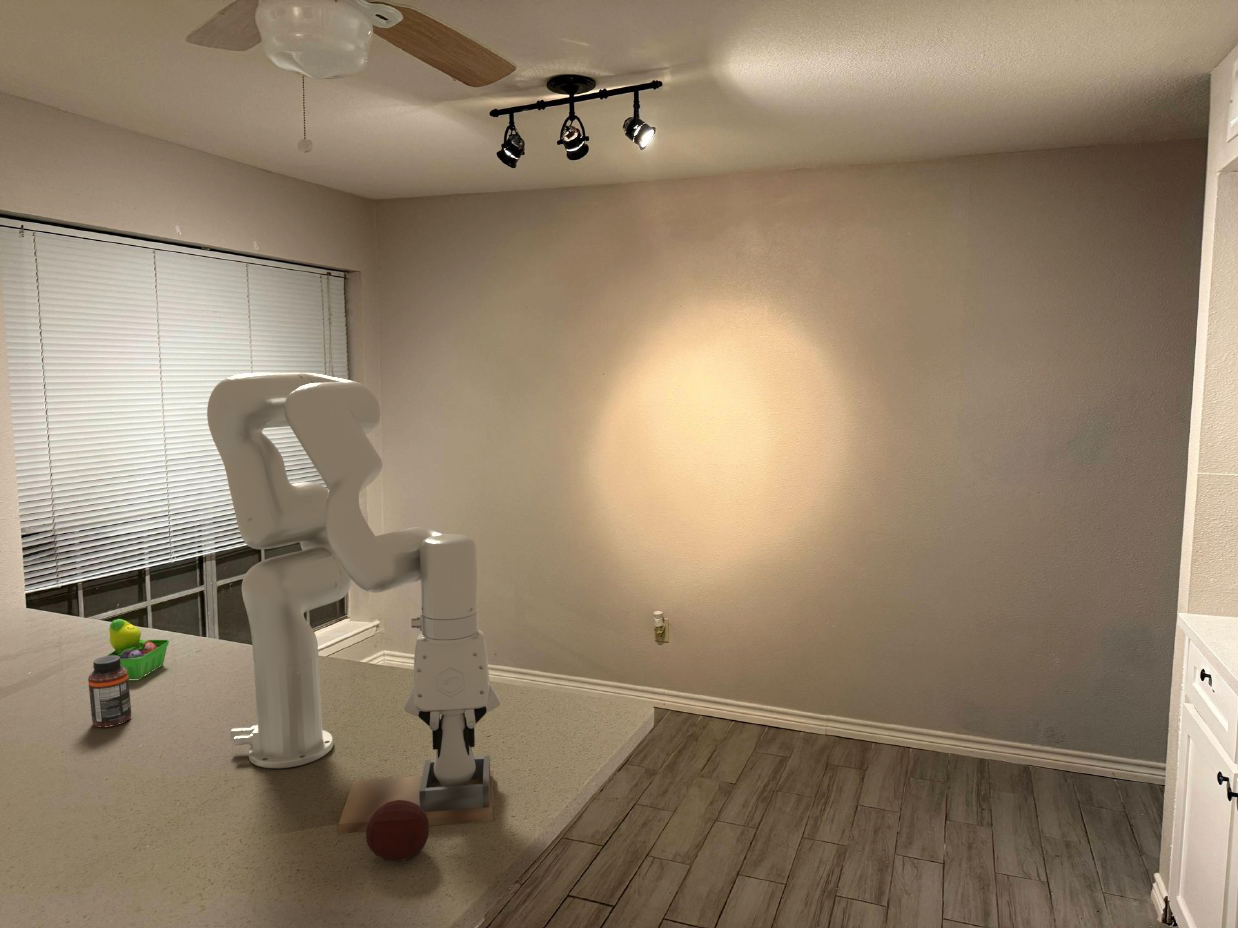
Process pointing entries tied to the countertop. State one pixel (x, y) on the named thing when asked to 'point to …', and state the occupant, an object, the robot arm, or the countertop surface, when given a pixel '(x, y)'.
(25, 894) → the countertop surface
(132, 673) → the fruit basket
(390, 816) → the dark red ball
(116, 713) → the supplement bottle
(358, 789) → the shaker caddy
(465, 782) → the salt shaker
